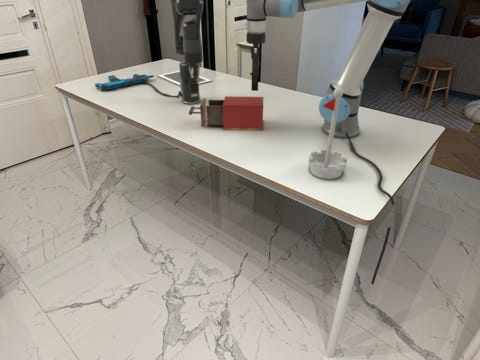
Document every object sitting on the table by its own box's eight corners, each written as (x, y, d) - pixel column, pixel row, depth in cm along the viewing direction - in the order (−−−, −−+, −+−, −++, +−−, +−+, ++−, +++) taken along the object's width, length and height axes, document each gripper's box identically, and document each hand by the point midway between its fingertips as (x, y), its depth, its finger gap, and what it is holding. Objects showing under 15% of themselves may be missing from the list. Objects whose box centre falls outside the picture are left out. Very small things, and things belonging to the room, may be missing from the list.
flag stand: (330, 158, 128) (344, 79, 112) (352, 176, 118) (370, 92, 102) (300, 165, 124) (309, 84, 108) (320, 183, 114) (333, 97, 98)
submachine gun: (139, 68, 225) (158, 74, 208) (140, 74, 226) (158, 80, 210) (87, 78, 206) (103, 86, 189) (89, 84, 208) (104, 92, 191)
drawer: (188, 126, 152) (187, 105, 147) (192, 117, 160) (190, 98, 155) (237, 127, 151) (237, 106, 146) (238, 118, 159) (238, 99, 154)
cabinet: (223, 129, 151) (222, 104, 145) (225, 119, 160) (225, 96, 154) (262, 130, 151) (263, 105, 144) (262, 120, 160) (263, 96, 153)
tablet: (157, 75, 220) (157, 75, 220) (183, 70, 231) (183, 69, 231) (184, 87, 200) (184, 87, 200) (212, 80, 211) (212, 80, 211)
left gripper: (186, 46, 144) (190, 86, 154) (180, 53, 133) (184, 96, 143) (204, 46, 144) (206, 86, 153) (199, 53, 133) (202, 96, 142)
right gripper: (247, 26, 144) (247, 76, 156) (245, 38, 123) (245, 94, 135) (265, 26, 144) (263, 77, 155) (265, 38, 123) (264, 95, 134)
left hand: (196, 91), depth 148 cm, fingers closed
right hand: (255, 85), depth 145 cm, fingers open, 13 cm apart
